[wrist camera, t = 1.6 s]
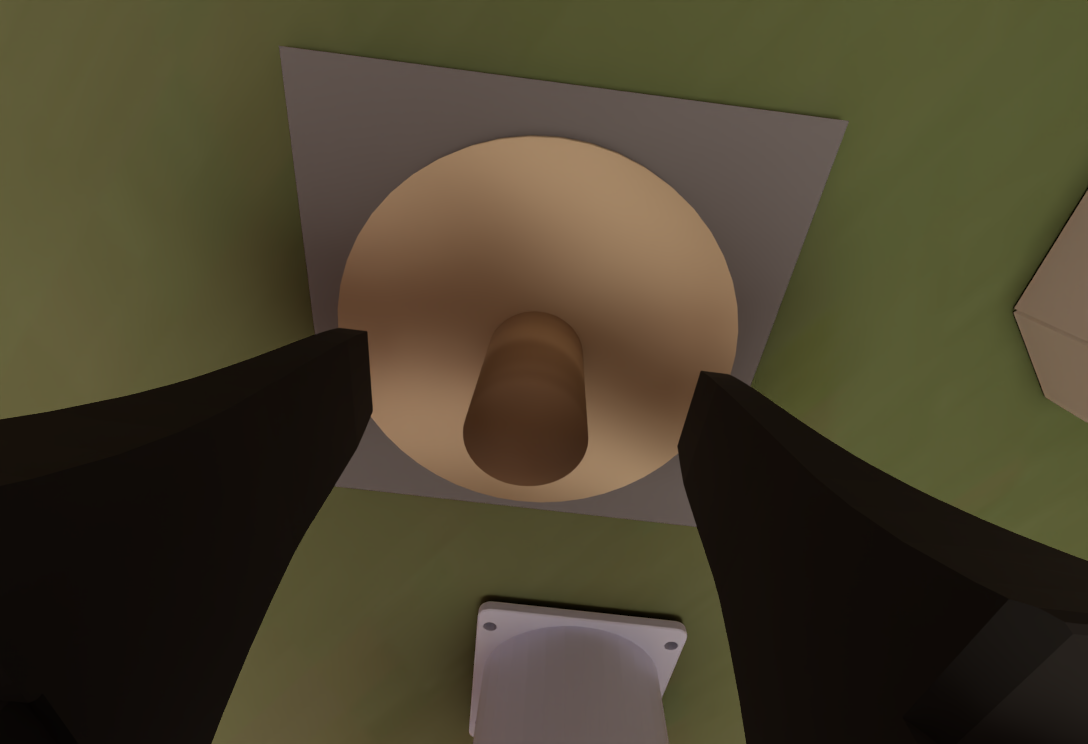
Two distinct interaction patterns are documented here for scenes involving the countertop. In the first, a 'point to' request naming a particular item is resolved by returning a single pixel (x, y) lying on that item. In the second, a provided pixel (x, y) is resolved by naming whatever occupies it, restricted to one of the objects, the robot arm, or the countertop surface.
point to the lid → (538, 317)
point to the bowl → (1060, 317)
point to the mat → (565, 111)
